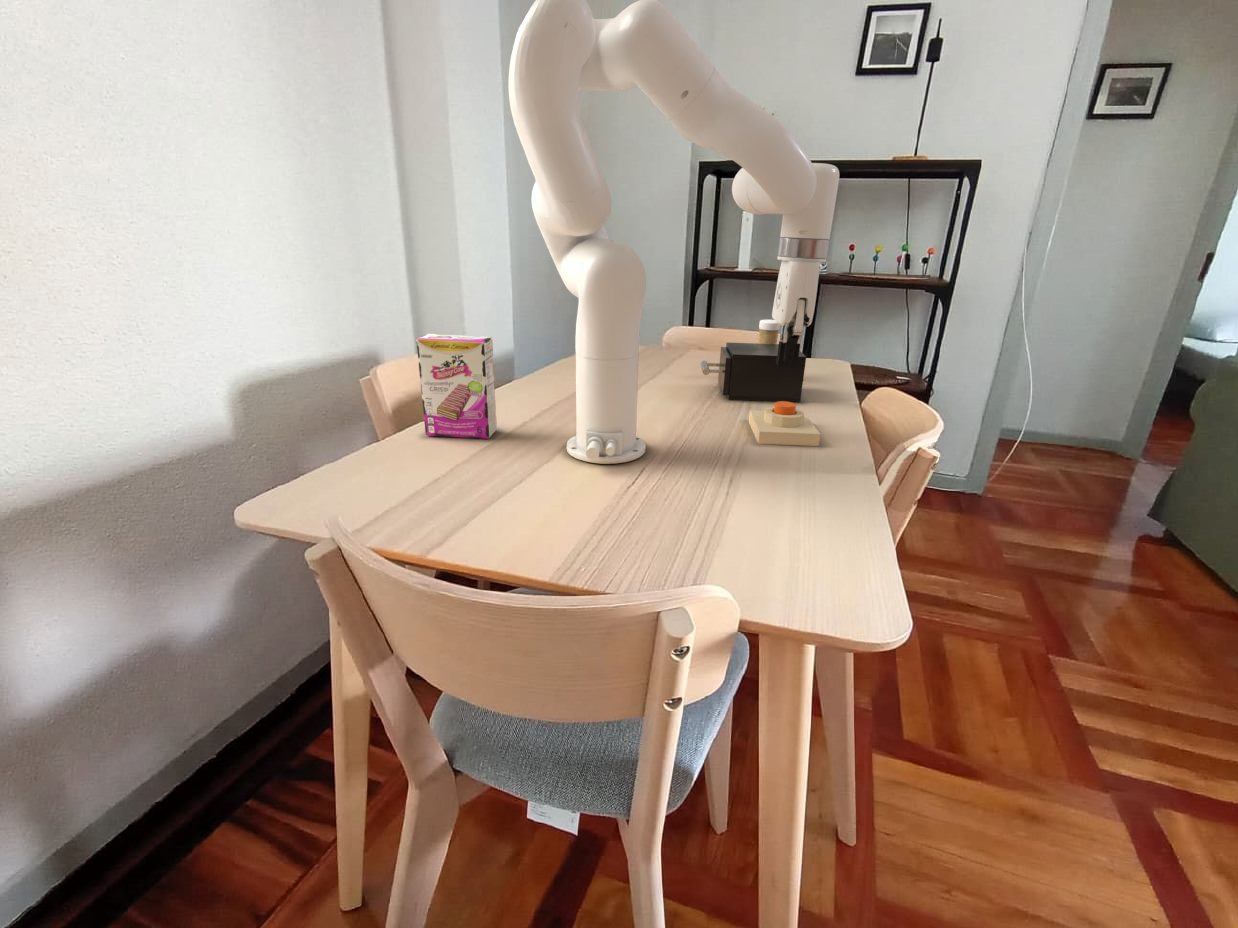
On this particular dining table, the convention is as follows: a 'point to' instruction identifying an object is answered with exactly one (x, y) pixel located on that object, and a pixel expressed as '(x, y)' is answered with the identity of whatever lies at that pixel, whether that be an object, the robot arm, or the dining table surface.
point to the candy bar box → (457, 385)
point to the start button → (784, 408)
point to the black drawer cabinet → (763, 374)
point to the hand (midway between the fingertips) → (786, 366)
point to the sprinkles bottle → (768, 332)
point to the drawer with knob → (720, 370)
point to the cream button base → (783, 428)
